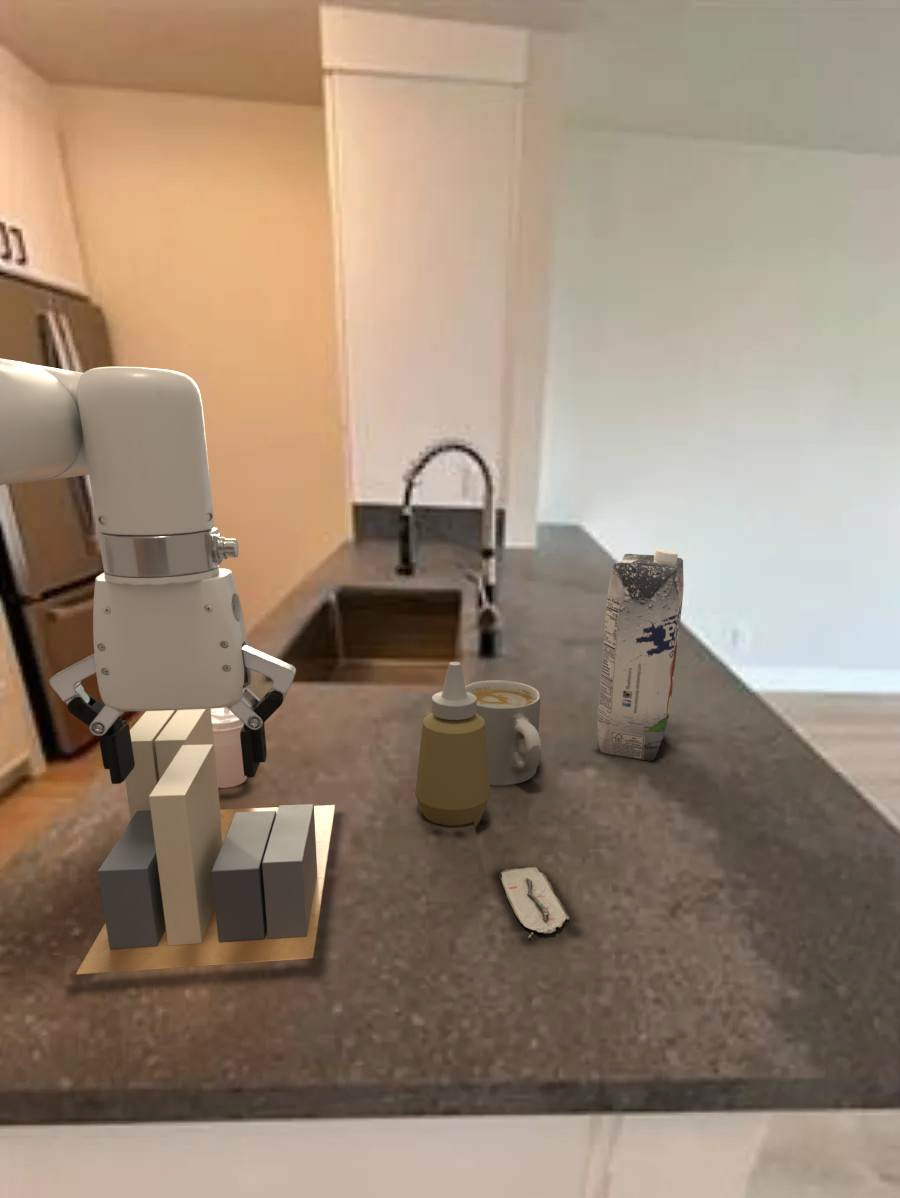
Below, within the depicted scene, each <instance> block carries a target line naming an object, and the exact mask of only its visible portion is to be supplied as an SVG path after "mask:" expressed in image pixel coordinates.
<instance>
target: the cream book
mask: <svg viewBox="0 0 900 1198" xmlns="http://www.w3.org/2000/svg"><path fill="white" fill-rule="evenodd" d="M218 792H219V788H218V789H217V778H216V768H215V757H214V747H213V744H208V745H182V747H181V748H180V750H179V751H178V753H177V754H176V756H175V757H174V759H173V760H172V762H171V763H170V765H169V766H168V768H167V770H166V771H165V773H164V774H163V776H162V777H161V779H160V780H159V782H158V783H157V785H156V786H155V788H154V789H153V791H152V792H151V794H150V795H149V801H150V809H151V816H152V824H153V832H154V840H155V847H156V855H157V863H158V871H159V879H160V886H161V894H162V902H163V910H164V917H165V925H166V933H167V941H168V945H185V944H200V943H202V940H203V938H204V935H205V932H206V930H207V927H208V924H209V921H210V919H211V916H212V913H213V910H214V908H215V902H214V892H213V883H212V873H211V871H212V869H213V866H214V864H215V861H216V859H217V856H218V854H219V851H220V849H221V846H222V844H223V841H222V830H221V820H220V810H221V809H220V810H219V803H220V798H219V799H218Z"/></svg>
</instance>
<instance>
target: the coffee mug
mask: <svg viewBox="0 0 900 1198" xmlns="http://www.w3.org/2000/svg"><path fill="white" fill-rule="evenodd" d="M465 688H466V692H469V693H472V694H473V695H475V696H476V697H477V708H476V713H477V714H479V715H480V716H481V717H482V718H483V719H484V720H485V732H486V745H487V758H488V771H489V785H490V786H510V785H517V784H520V783H524V782H526V781H529V780H530V779H532V778H533V777H534V776H535V775H536V773H537V770H538V767H539V765H540V762H541V758H542V757H541V756H542V741H541V737H540V734H539V732H540V714H541V710H540V709H541V694H540V691H539V690H538V689H537V688H535V687H533V686H531V685H529V684H526V683H521V682H518V681H512V680H503V679H502V680H501V679H500V680H499V679H497V680H496V679H495V680H492V679H491V680H481V681H475V682H472V683H469V684H465Z"/></svg>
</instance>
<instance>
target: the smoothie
mask: <svg viewBox="0 0 900 1198" xmlns="http://www.w3.org/2000/svg"><path fill="white" fill-rule="evenodd" d="M211 719H212V729H213V740H214V750H215V761H216V771H217V782H218V789H226V788H234V787H238V786H239V785H243V783H245V782H246V781H247V779H248V778H247V776H244V769H243V759H242V749H241V739H240V732H241V729H242V727H243V725H244V723H243V722H242V721H241V720H240V719H239V718H238V717H237V716H235V715H234V714H233V713H232V712H231V711H230V710H229V709H228V708H227V707H225V708H215V709H211Z"/></svg>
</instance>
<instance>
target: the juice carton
mask: <svg viewBox="0 0 900 1198" xmlns="http://www.w3.org/2000/svg"><path fill="white" fill-rule="evenodd" d="M684 583H685V582H684V559H683V558H682V557H679V552H676V551H674V550H669V549H662V548H658V549H657V548H656V549H655V551H654V554H637V553H624V554H623V557H622V559H621V560H619V561H616V562H614V563H613V565H612V568H611V574H610V578H609V584H608V591H607V597H606V608H605V622H604V624H605V625H604V632H603V633H604V635H603V644H602V645H603V647H602V657H601V658H602V660H601V669H600V682H599V683H600V684H599V696H598V708H597V709H598V710H597V736H598V746H599V747H598V748H599V751H600V753H602V754H606V755H612V756H616V757H617V756H618V757H624V758H630V759H636V760H642V761H647V762H653V761H654V760H655V759H656V757H657V754H658V752H659V749H660V746H661V744H662V741H663V738H664V735H665V731H666V729H667V725H668V723H669V719H670V713H671V707H672V699H673V698H672V697H673V688H674V681H675V680H674V679H675V671H676V662H677V655H678V645H679V637H680V628H681V619H682V610H683V601H684V600H683V599H684V585H685V584H684Z"/></svg>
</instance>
